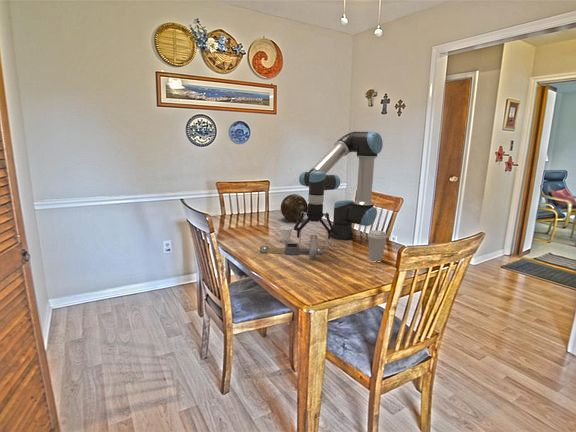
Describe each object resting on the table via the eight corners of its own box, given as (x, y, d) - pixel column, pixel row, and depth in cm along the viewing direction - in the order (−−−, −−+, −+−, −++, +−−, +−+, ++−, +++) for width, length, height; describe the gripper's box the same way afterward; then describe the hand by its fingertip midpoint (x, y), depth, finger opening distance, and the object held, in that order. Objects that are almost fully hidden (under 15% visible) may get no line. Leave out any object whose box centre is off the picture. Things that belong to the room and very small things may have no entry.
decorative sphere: (307, 224, 239) (309, 197, 234) (279, 223, 239) (280, 196, 234) (306, 218, 258) (307, 192, 254) (280, 217, 258) (281, 191, 254)
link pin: (315, 257, 174) (317, 234, 171) (316, 259, 170) (317, 236, 167) (308, 256, 174) (310, 234, 171) (309, 259, 170) (310, 236, 167)
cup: (292, 242, 196) (293, 229, 195) (275, 243, 194) (276, 229, 193) (290, 239, 203) (290, 226, 201) (274, 239, 201) (274, 226, 199)
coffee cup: (374, 265, 165) (377, 235, 162) (361, 258, 174) (364, 230, 170) (388, 262, 170) (391, 233, 166) (375, 256, 178) (378, 229, 175)
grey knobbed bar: (322, 251, 183) (323, 244, 183) (324, 255, 176) (324, 248, 175) (260, 249, 183) (260, 242, 182) (259, 253, 175) (259, 246, 174)
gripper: (339, 202, 169) (336, 243, 174) (290, 200, 169) (288, 241, 173) (342, 205, 162) (338, 247, 167) (290, 203, 161) (288, 245, 166)
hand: (313, 244), depth 170 cm, fingers open, 13 cm apart
